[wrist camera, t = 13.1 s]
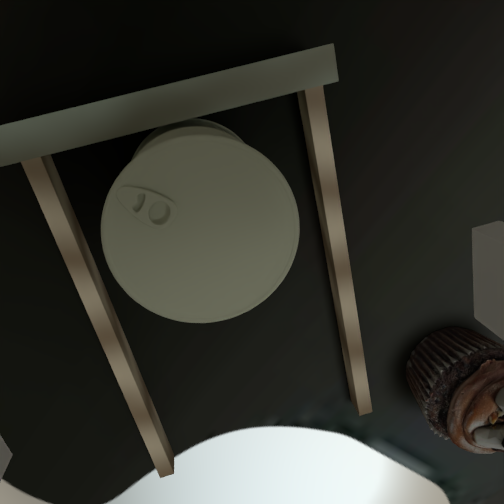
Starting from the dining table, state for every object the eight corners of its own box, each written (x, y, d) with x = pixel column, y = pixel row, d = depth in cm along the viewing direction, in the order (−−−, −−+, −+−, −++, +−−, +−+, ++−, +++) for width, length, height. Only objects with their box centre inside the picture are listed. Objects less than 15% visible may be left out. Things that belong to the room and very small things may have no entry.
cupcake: (410, 316, 37) (487, 390, 28) (505, 319, 39) (606, 389, 30) (386, 404, 40) (448, 497, 31) (474, 403, 42) (557, 490, 33)
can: (166, 90, 27) (159, 88, 16) (282, 162, 30) (342, 201, 19) (105, 210, 30) (61, 280, 18) (218, 266, 32) (239, 356, 21)
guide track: (16, 123, 27) (-17, 129, 22) (307, 51, 28) (333, 43, 23) (161, 459, 38) (158, 509, 33) (363, 396, 39) (387, 437, 35)
